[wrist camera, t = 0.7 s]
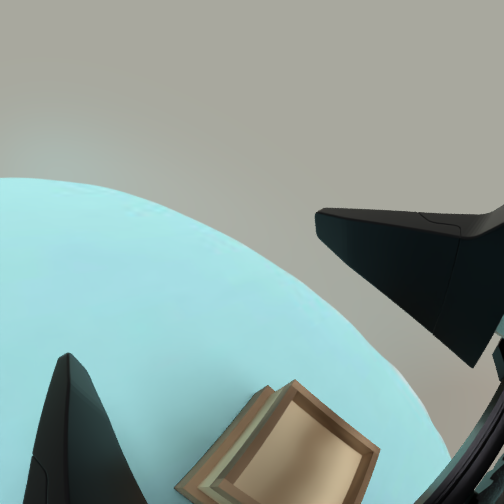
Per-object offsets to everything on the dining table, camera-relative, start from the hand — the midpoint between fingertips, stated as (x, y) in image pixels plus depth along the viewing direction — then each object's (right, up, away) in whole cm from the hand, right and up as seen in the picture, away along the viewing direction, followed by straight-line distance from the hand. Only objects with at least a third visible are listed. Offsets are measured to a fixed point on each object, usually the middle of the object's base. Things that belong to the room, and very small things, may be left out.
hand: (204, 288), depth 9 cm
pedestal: (+3, -15, +9) cm, 18 cm away
